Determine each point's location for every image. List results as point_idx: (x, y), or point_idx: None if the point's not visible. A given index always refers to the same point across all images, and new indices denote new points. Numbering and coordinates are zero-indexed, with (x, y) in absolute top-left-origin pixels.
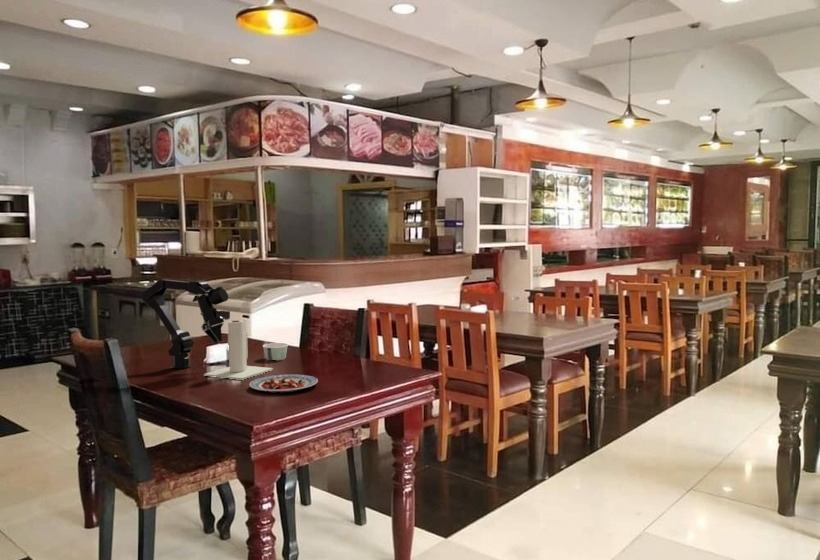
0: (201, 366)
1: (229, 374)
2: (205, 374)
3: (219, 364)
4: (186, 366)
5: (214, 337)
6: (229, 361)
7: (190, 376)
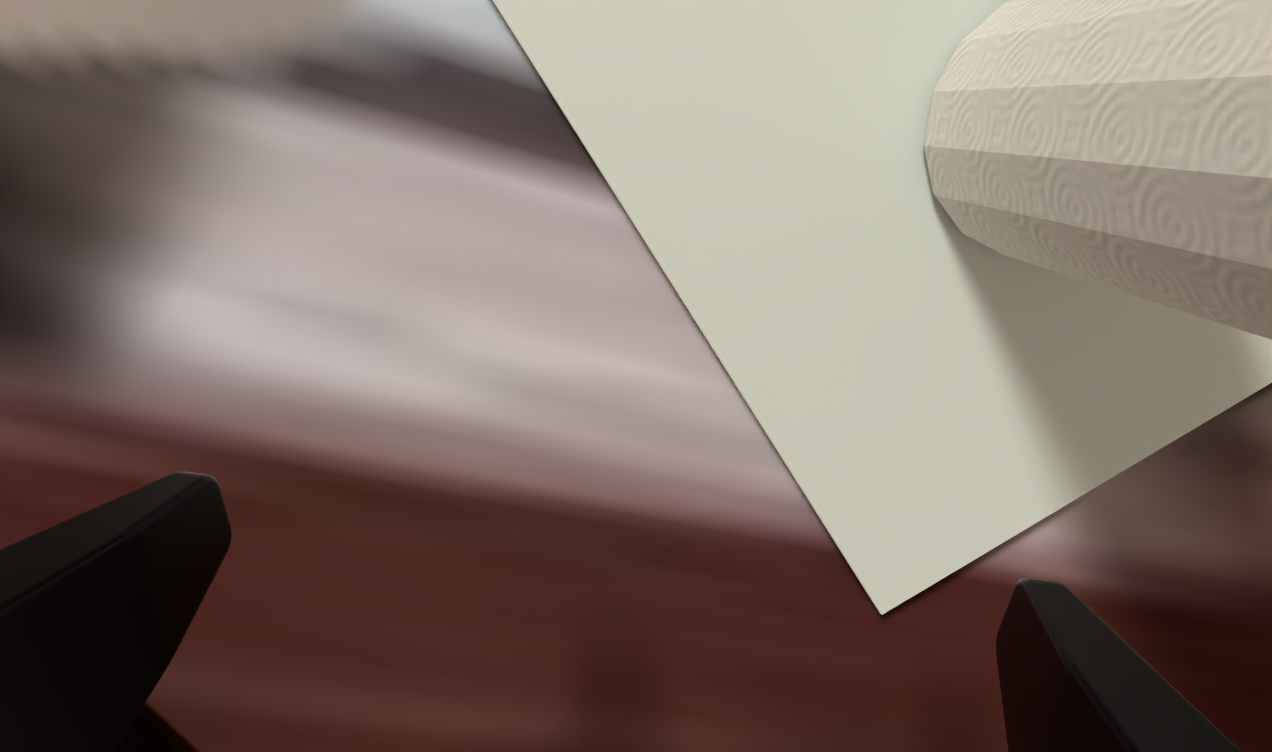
0: (78, 493)
1: (1181, 314)
2: (907, 597)
3: (26, 171)
4: (143, 735)
5: (43, 694)
6: (1112, 287)
7: (751, 734)
